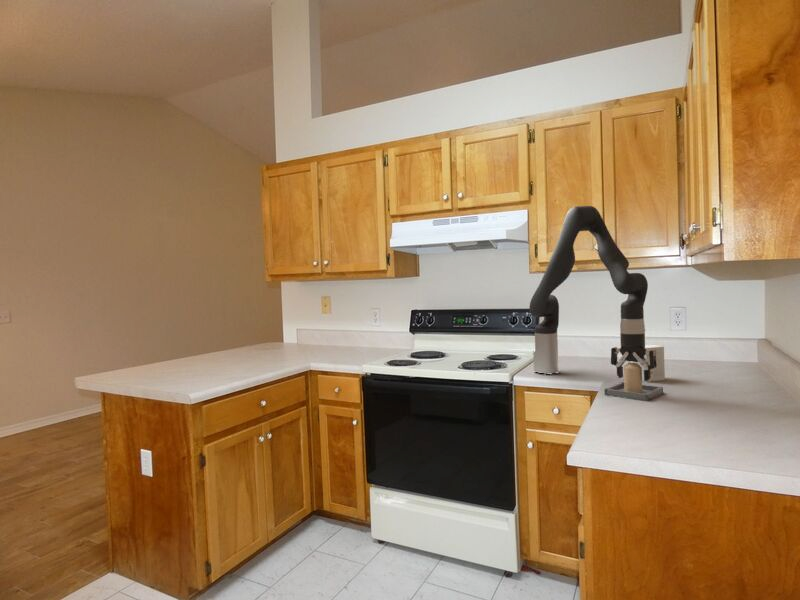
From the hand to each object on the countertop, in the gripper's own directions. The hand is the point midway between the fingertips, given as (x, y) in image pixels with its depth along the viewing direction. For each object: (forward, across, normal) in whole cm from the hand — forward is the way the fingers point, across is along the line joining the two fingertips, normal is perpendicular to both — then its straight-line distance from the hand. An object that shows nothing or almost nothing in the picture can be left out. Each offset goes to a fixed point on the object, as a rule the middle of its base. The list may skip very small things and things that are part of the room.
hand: (633, 379), depth 166 cm
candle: (+5, 0, 0) cm, 5 cm away
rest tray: (+5, 0, 0) cm, 5 cm away
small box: (+5, -4, +26) cm, 27 cm away
